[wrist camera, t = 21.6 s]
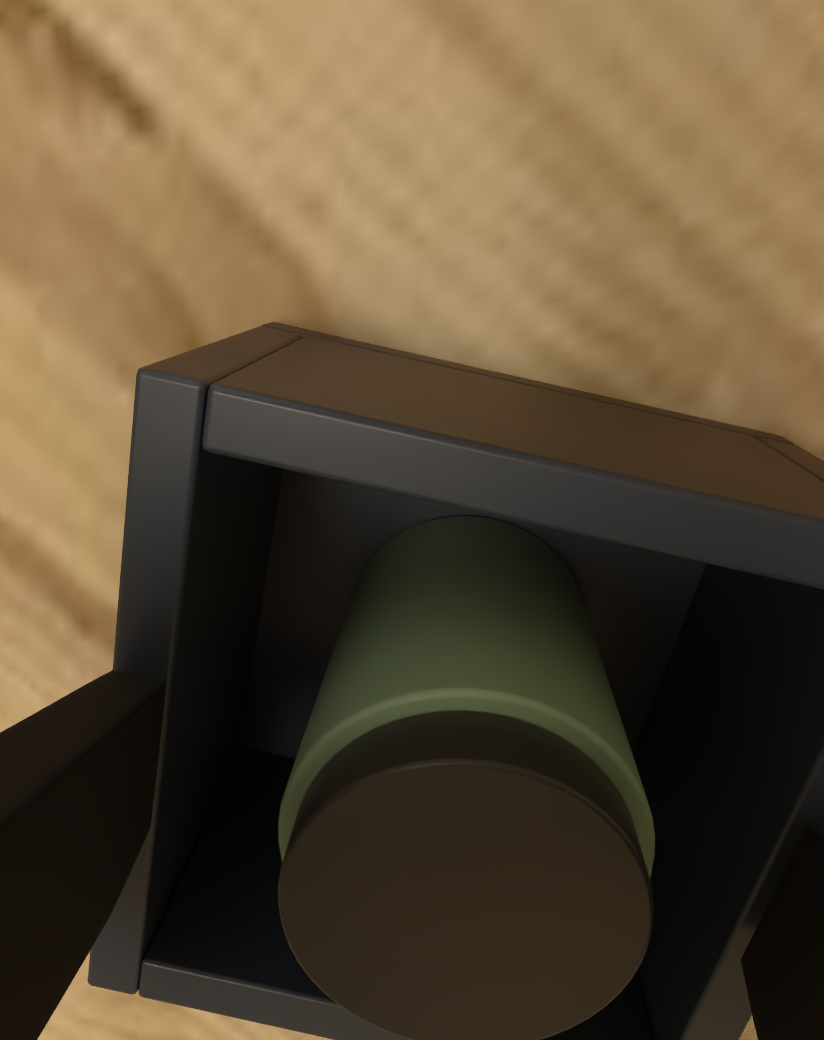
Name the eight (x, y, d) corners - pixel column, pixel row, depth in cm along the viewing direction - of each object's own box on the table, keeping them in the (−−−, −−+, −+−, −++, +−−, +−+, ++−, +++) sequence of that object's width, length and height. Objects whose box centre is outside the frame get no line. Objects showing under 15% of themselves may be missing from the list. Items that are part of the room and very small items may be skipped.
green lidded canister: (617, 548, 12) (745, 806, 6) (543, 747, 13) (597, 1101, 8) (377, 487, 12) (297, 693, 6) (328, 692, 13) (227, 1011, 8)
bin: (783, 436, 12) (995, 559, 7) (623, 840, 15) (698, 1123, 10) (268, 320, 12) (132, 366, 7) (209, 748, 15) (85, 987, 10)
